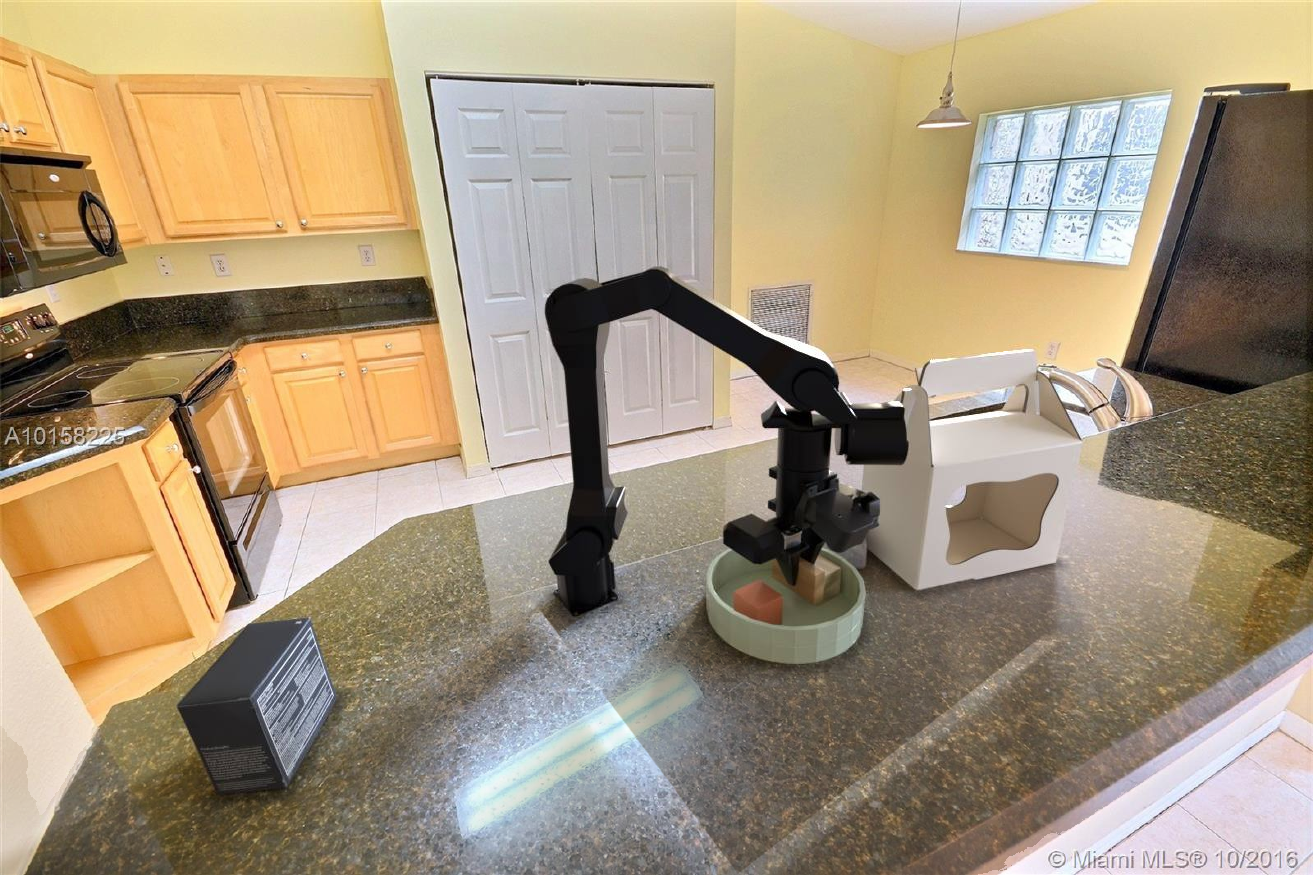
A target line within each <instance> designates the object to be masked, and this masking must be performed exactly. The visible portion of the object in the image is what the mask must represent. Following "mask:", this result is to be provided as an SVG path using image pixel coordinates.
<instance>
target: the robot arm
mask: <svg viewBox="0 0 1313 875" xmlns="http://www.w3.org/2000/svg"><path fill="white" fill-rule="evenodd" d="M650 310H652V311H655V312H657V313H658V314H660V315H662V316H663V317H666V318H667V319H668V320H670V321H672V322H674V323H675V324H677V325H679V326H680V327H682V328H683V329H686V330H687V331H689V332H690V333H692V334H693V335H696V336H697V337H699V338H701V339H702V340H703V341H706V342H708V344H710V345H712V346H714V347H716V348H718V349H719V350H720V351H722V352H724V353H725V354H727V355H729V356H731V357H732V358H734V359H736V360H737V361H738V362H740V363H743V364H744V365H746V366H747V367H748V368H749V369H750V370H751V371H753V372H754V373H755V375H757V377H759V378H760V379H761V380H762V381H763V383H764V384H765V385H766V386H768V387H769V388H770V389H771V390H772V391H773V393H775V394H776V395H777V396H779V397H780V398H781V399H782V400H783V401H784V402H786V404H787V405H789V406H790V407H791V408H789V407H784V406H783V405H782V404H781V403H780V402H779V401H778V400H774V401H773V403H772V404H771V406H770V407H768V408H767V409H765V411H763V412H762V413H760V420H761V426H762V428H763V429H777V447H776V448H777V450H776V451H777V452H776V465H775V466H771V467H769V468H768V477H769V478H771V479H774V480H775V497H774V498H771V499H768V500H767V509H769V510H770V511H772V512H773V513H775V516H774V517H771V518H769V519H763V518H761V517H759V516H758V515H756V514H755V513H750V514H746V515H744V516H741V517H739V518H736V519H733V520H730V521H728V522H727V523H726V524H725V525H723V528H722V544H723V545H724V546H726V547H727V548H728V549H729V548H730V549H732V550H733V551H735V552H736V553H738V554H739V555H741V556H742V557H744V558H745V559H747V560H748V561H750V562H751V563H753V564H763V563H766V562H768V561H770V560H773V559H775V558H776V560H777V562H778V565H779V567H780V569H781V571H782V573H783V575H784V577H785V579H786V581H787V583H788V584H790V585H791V586H795V585H796V581H797V577H798V569H799V560H800V557H801V558H803V559H805V560H806V561H808V562H810V563H811V564H813V565H814V564H815V562H816V560H817V557H818V555H819V553H820V551H821V549H822V547H823V546H824V544H825V542H826V544H827V546H828V547H829V548H830V549H831V550H832V551H834V552H837V553H843V552H845V551H846V550H848V549H849V548H852V547H854V546H856V545H860V544H862V543H863V542H864V540H865V538H866V536H867V534H868V532H869V530H871V529H874V528H876V527H878V526H879V521H878V518H879V515H880V499H879V498H878V497H877V496H876V495H875V494H873V493H872V492H867V493H865V492H863V491H862V490H860V489H858V488H855V487H854V486H851V485H848V484H847V483H846V484H845V483H844V482H842V481H840V478H839V477H838V473H837V472H835V471H831V470H830V467H831V466H830V464H831V450H832V435H833V429H834V450H835V454H836V456H844V462H845V464H846V465H848V466H864V465H903V464H904V463H905V461H906V458H907V454H908V448H909V442H908V440H907V429H906V423H905V419H904V413H905V408H904V407H903V406H902V405H901V404H900V403H899V402H893V401H885V402H880V403H851V402H850V400H849V398H848V397H847V395H846V394H845V392H844V391H840V390H839V386H840V379H839V374H838V372H837V369H836V368H835V367H834V366H833V364H832V362H831V361H830V359H829V358H828V356H827V355H826V354H825V353H824V352H823V351H822V350H821V349H819V348H816V347H815V346H811V345H809V344H806V343H804V342H801V341H798V340H796V339H794V338H791V337H787V336H783V335H780V334H777V333H774V332H770V331H768V330H767V329H764V328H761V327H760V326H758V325H757V324H755V323H753V322H751V321H750V320H748V319H747V318H745V317H744V316H742V315H740V314H738V313H736V312H735V311H733V310H732V309H730V308H728V307H727V306H725V305H724V304H722V303H720V302H719V301H717V300H716V299H714V298H712V297H710V296H709V295H707V294H706V293H703V292H702V291H701V290H699V289H697V288H695V287H694V286H692V285H691V284H689V283H687V282H685V281H684V280H682V279H681V278H679V277H677V275H675V274H674V273H673V272H672V271H671V269H669V268H667V267H664V266H661V265H659V266H658V265H657V266H652V267H649V268H647V269H646V270H644V271H640V272H638V273H637V272H636V273H634V274H633V273H632V274H629V275H625V276H621V277H618V278H614V279H609V280H606V281H602V282H600V281H597V280H596V279H594V278H588V277H582V278H577V279H574V280H571V281H570V282H569V281H568V282H566V283H564V284H561V285H560V286H557V287H555V289H553V291H552V292H551V293H550V294H549V295H548V297H547V298H546V300H545V303H544V316H545V321H546V322H545V323H546V325H547V329H548V333H549V337H550V341H551V343H552V344H551V345H552V347H553V350H554V351H555V353H556V356H557V357H558V359H559V361H560V364H561V366H562V369H563V374H564V386H565V397H566V410H567V411H566V412H567V423H568V435H569V446H570V447H569V448H570V459H571V460H570V461H571V471H572V492H571V495H570V496H571V497H570V501H569V505H568V510H567V515H566V522H565V523H566V524H565V529H564V532H563V534H561V537H560V539H559V541H558V543H557V544H556V546H555V547H554V550H553V551H552V554H551V556H550V557H549V559H548V564H549V566H550V568H551V570H552V572H553V574H554V575H555V576H556V584H557V589H556V590H554V591H553V594H554V595H555V597H556V598H557V599H558V600H559V601H560V603H561V604H562V605H563V607H564V608H565V609H566V610H567V611H568V612H569V614H570V615H571V616H572V617H579V616H581V615H584V614H585V613H589V612H591V611H593V610H596V609H598V608H601V607H603V606H605V605H608V604H611V603H613V602H615V601H617V600H619V599H620V596H619V595H618V593H616V592H615V590H616V588H617V587H616V576H615V575H616V574H615V562H614V561H613V560H612V559H611V554H610V553H611V551H612V549H613V547H614V543H615V541H618V540H619V538H620V535H621V532H622V530H623V527H624V524H625V521H626V518H627V517H628V510H627V508H626V504H625V498H626V497H625V495H626V486H625V485H621V486H615V484H614V483H613V480H612V479H611V475H610V467H609V448H608V432H607V431H608V430H607V413H606V397H605V376H604V358H605V355H606V354H605V353H606V350H607V344H608V339H609V336H610V328H611V322H615V321H617V320H621V319H624V318H627V317H631V316H633V315H636V314H639V313H643V312H646V311H650ZM813 412H815V413H813ZM614 597H616V598H614Z"/></svg>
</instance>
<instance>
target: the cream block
mask: <svg viewBox="0 0 1313 875" xmlns="http://www.w3.org/2000/svg"><path fill="white" fill-rule="evenodd" d="M814 565H815V566H816V567H818V568H820V569H821V570H823V571H825V580H824V595H823V601H821V602H819V603H817V604H815V606H819V605H821V604H823V603H825V602H827V601H829V600H831V599H833V598H835V597H836V596H838V595H839V594H840V582H841V569H842V568H841V567H840V566H838V565H836V564H834V563H833V562H831V561H829V560H827V559H826V558H824V557H822V556H820V555H818V557H817V560H816V562H815V564H814Z"/></svg>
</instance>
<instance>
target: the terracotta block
mask: <svg viewBox="0 0 1313 875" xmlns="http://www.w3.org/2000/svg"><path fill="white" fill-rule="evenodd" d="M782 609H783V596H782V595H781V594H779V593H778V592H776V591H775V590H773V589H772V588H771V587H769V586H768V585H766V584H765V583H763V582H762V581H760V580H758V581H756V582H753V583H751V584H749V585H747V586H745V587H743V588H741V589H738V590H736V591H734V611H736V612H738V613H740V614H742V615H745V616H747V617H749V618H751V619H754V620H758V621H761V622H765V623H769V624H773V625H782Z"/></svg>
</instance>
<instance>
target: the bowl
mask: <svg viewBox="0 0 1313 875" xmlns="http://www.w3.org/2000/svg"><path fill="white" fill-rule="evenodd" d="M819 555H820V556H822V557H824V558H826V559H827V560H829V561H831V562H833V563H834V564H836V565H838V566H840V567H841V568H842V569H841V582H840V594H839V595H838V596H836V597H835V598H833V599H831V600H829V601H827V602H825V603H823V604H821V605H819V606H815V605H812V604H811V603H809V602H808V601H806V600H805V599H803V598H802V597H800V596H799V595H797V594H796V593H794V592H793V591H791V590H790V589H788V588H787V587H785V586H784V585H782V584H781V583H779V582H778V581H776V580H775V579H773V578H772V560H770V561H768V562H766V563H763V564H753V563H751V562H750V561H748V560H747V559H745V558H744V557H742V556H741V555H739V554H738V553H736V552H735V551H733V550H732V549H730V548H729V547H728V548H726V549H725V550H724V551H722V552H721V553H720V554H718V555H717V556H716V557H714V559H713V560H712V561H711V563H710V564H709V565H708V566H707V567H708V568H707V571H706V576H705V608H706V609H705V610H706V613H707V618H708V622H709V623H710V625H711V627H712V629H713V630H714V631H715V633H716V634H717V635H718V636H719V637H720V638H721V639H722V640H723V641H724V642H726V643H727V644H728V645H730V646H731V647H733V648H734V649H736V650H738V651H739V652H742V653H743V654H745V655H748V656H751V657H753V658H757V659H760V660H764V661H767V662H771V663H778V664H786V665H787V664H788V665H803V664H813V663H818V662H823V661H827V660H829V659H832V658H835V657H837V656H839V655H840V654H843V653H844V652H845V651H847V650H849V649H850V648H851V647H852V646H853V645H854V644H855V643H856V642H857V640H858V639H859V637H860V635H861V631H862V628H863V624H864V614H865V604H866V595H867V594H866V593H867V590H866V585H865V582H864V578H863V576H862V575H861V574H860V572H859V571H858V569H856V568H855V567H854V566H853V565H851V564H850V563H849V562H848V561H847V560H846V559H844V558H843V557H841V556H839V555H837V554H835V553H834V552H832V551H830V550H828V549H825V548H822V549H821V551H820V553H819ZM758 580H760V581H762V582H763V583H765V584H766V585H768V586H769V587H771V588H772V589H773V590H775V591H776V592H778V593H779V594H781V595H782V596H783V609H782V625H773V624H769V623H765V622H761V621H758V620H754V619H751V618H749V617H747V616H745V615H742V614H740V613H738V612H736V611H734V591H736V590H738V589H741V588H743V587H745V586H747V585H749V584H751V583H753V582H756V581H758Z"/></svg>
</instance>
